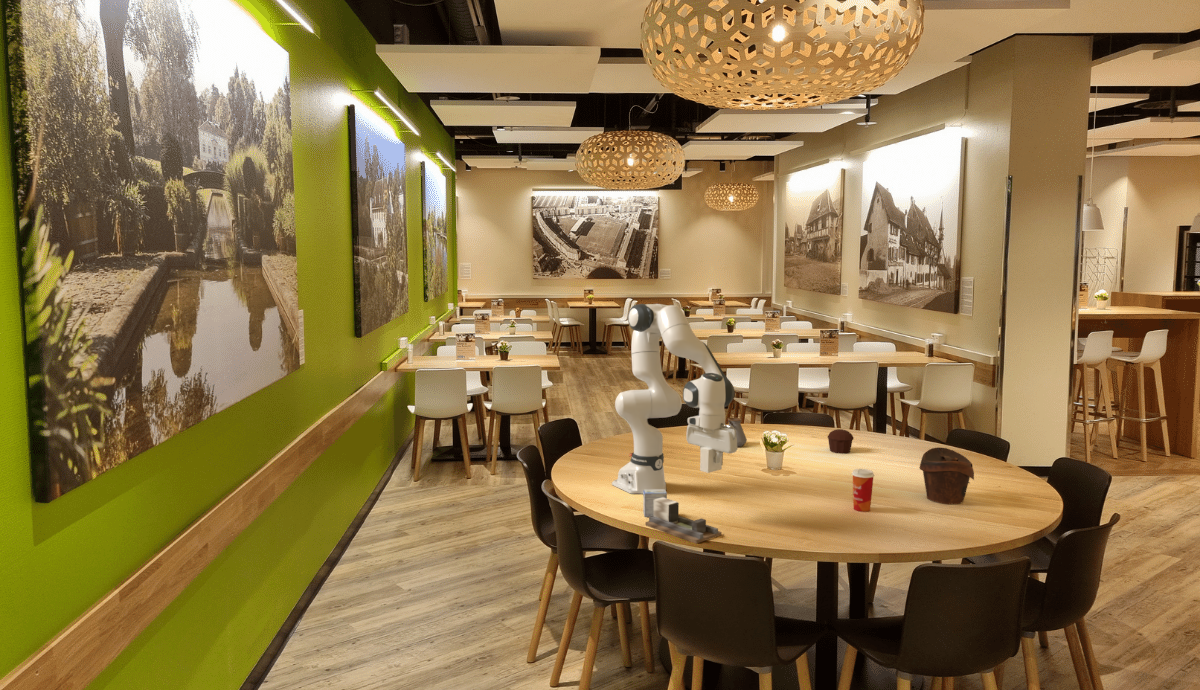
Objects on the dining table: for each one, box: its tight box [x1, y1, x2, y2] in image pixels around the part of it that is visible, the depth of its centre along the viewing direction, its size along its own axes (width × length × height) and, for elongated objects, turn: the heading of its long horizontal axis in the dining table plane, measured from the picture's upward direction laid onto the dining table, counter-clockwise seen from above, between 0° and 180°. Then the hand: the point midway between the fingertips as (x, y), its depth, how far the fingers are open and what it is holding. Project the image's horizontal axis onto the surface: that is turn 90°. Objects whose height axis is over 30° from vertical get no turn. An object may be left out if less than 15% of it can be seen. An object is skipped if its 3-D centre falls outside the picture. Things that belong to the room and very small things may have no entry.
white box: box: [699, 447, 724, 474], centre depth 278 cm, size 4×8×8 cm, turn 131°
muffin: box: [827, 428, 854, 455], centre depth 373 cm, size 12×11×10 cm
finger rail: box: [645, 497, 723, 544], centre depth 267 cm, size 23×12×8 cm, turn 41°
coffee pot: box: [727, 417, 747, 448], centre depth 380 cm, size 21×12×15 cm, turn 161°
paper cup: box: [851, 468, 875, 513], centre depth 289 cm, size 8×8×14 cm
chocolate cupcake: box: [919, 446, 975, 505], centre depth 300 cm, size 18×20×18 cm
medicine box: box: [642, 489, 668, 518], centre depth 283 cm, size 8×4×9 cm, turn 92°
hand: (711, 461), depth 278 cm, fingers closed on white box, 4 cm apart
